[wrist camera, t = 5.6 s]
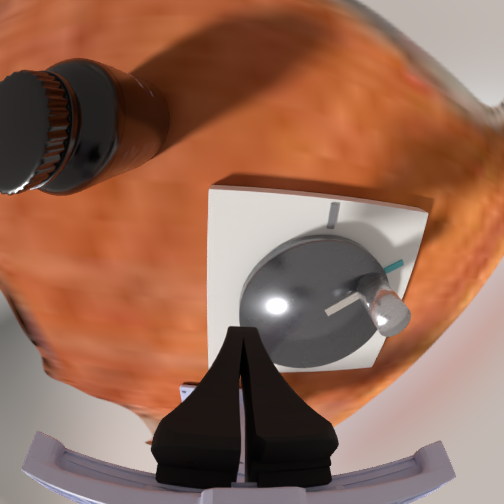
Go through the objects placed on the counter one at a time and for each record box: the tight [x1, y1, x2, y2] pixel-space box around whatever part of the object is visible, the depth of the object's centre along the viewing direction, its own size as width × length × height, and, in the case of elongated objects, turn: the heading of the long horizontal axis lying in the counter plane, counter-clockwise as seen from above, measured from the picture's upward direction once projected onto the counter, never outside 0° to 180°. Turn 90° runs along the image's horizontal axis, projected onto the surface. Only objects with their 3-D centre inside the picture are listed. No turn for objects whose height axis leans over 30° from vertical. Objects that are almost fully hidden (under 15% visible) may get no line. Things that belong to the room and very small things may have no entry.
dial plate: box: [207, 185, 429, 372], centre depth 22 cm, size 17×17×2 cm
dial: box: [239, 235, 411, 368], centre depth 19 cm, size 12×12×6 cm
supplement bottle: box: [0, 58, 169, 196], centre depth 12 cm, size 7×7×12 cm
